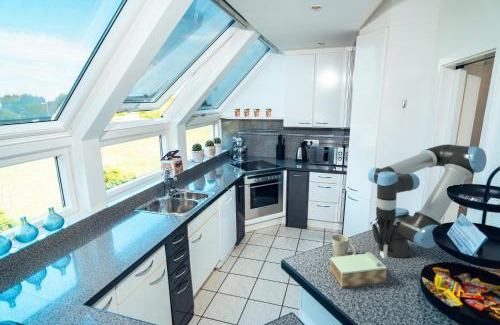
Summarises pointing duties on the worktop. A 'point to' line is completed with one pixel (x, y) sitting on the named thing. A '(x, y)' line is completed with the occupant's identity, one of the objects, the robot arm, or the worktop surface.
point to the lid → (357, 263)
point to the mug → (341, 245)
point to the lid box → (358, 277)
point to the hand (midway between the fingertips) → (383, 256)
